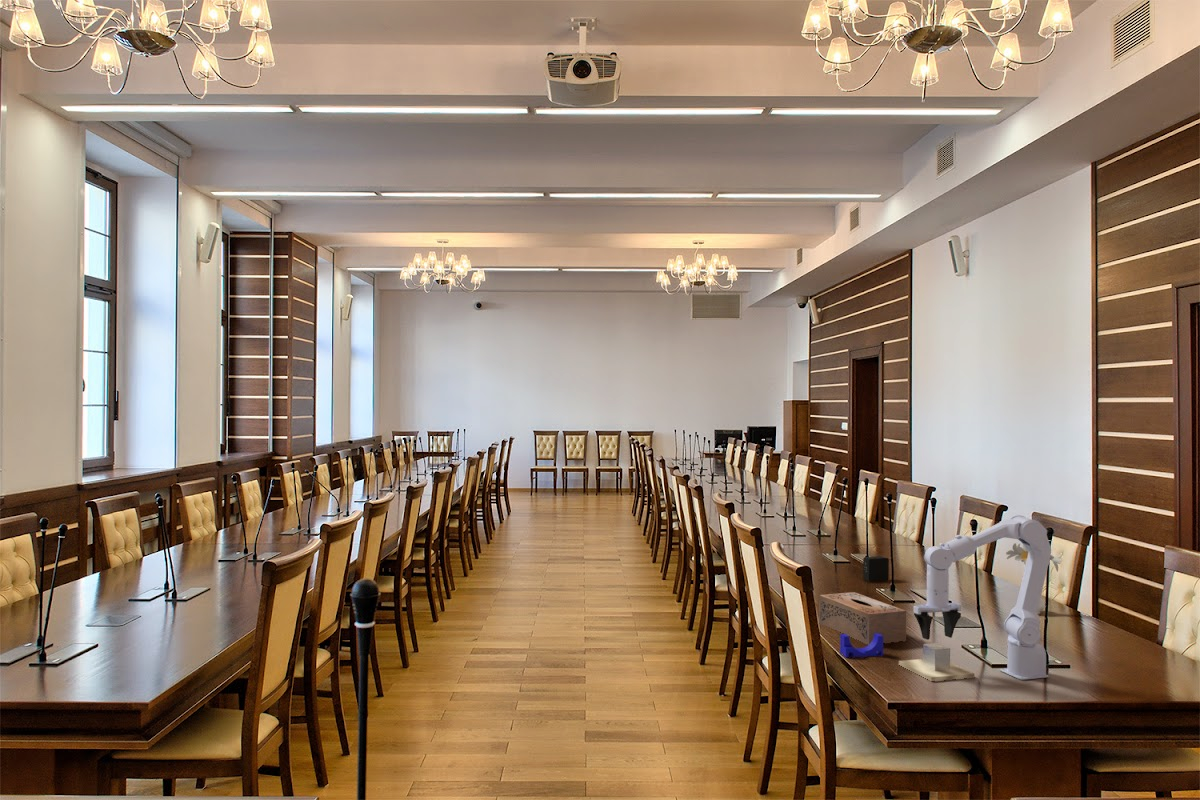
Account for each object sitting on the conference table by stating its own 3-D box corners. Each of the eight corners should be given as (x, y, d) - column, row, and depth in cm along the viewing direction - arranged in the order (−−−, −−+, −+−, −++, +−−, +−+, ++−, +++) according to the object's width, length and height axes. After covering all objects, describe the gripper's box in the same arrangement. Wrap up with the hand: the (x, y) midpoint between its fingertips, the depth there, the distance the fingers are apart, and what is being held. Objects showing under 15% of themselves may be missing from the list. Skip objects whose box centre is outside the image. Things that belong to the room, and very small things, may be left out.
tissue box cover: (905, 641, 249) (906, 610, 249) (868, 646, 244) (869, 614, 244) (853, 620, 273) (854, 592, 273) (818, 624, 268) (819, 595, 268)
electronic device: (862, 580, 337) (863, 557, 337) (882, 579, 340) (882, 556, 340) (869, 582, 333) (869, 558, 333) (888, 581, 336) (888, 557, 336)
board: (939, 661, 229) (939, 657, 229) (974, 677, 216) (974, 673, 216) (898, 665, 225) (898, 661, 225) (931, 681, 212) (931, 677, 212)
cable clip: (846, 658, 231) (846, 638, 232) (840, 653, 236) (840, 633, 236) (885, 657, 232) (885, 637, 232) (878, 653, 237) (879, 633, 237)
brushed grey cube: (937, 663, 223) (938, 642, 223) (950, 669, 219) (950, 648, 219) (922, 665, 222) (923, 644, 222) (934, 670, 217) (935, 649, 217)
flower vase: (1066, 618, 279) (1067, 548, 279) (1010, 614, 283) (1011, 545, 283) (1053, 609, 292) (1054, 542, 292) (1000, 605, 295) (1001, 539, 296)
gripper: (925, 594, 215) (925, 643, 215) (969, 591, 219) (968, 639, 219) (908, 588, 222) (908, 636, 222) (951, 585, 226) (950, 632, 226)
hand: (937, 637), depth 221 cm, fingers open, 7 cm apart
